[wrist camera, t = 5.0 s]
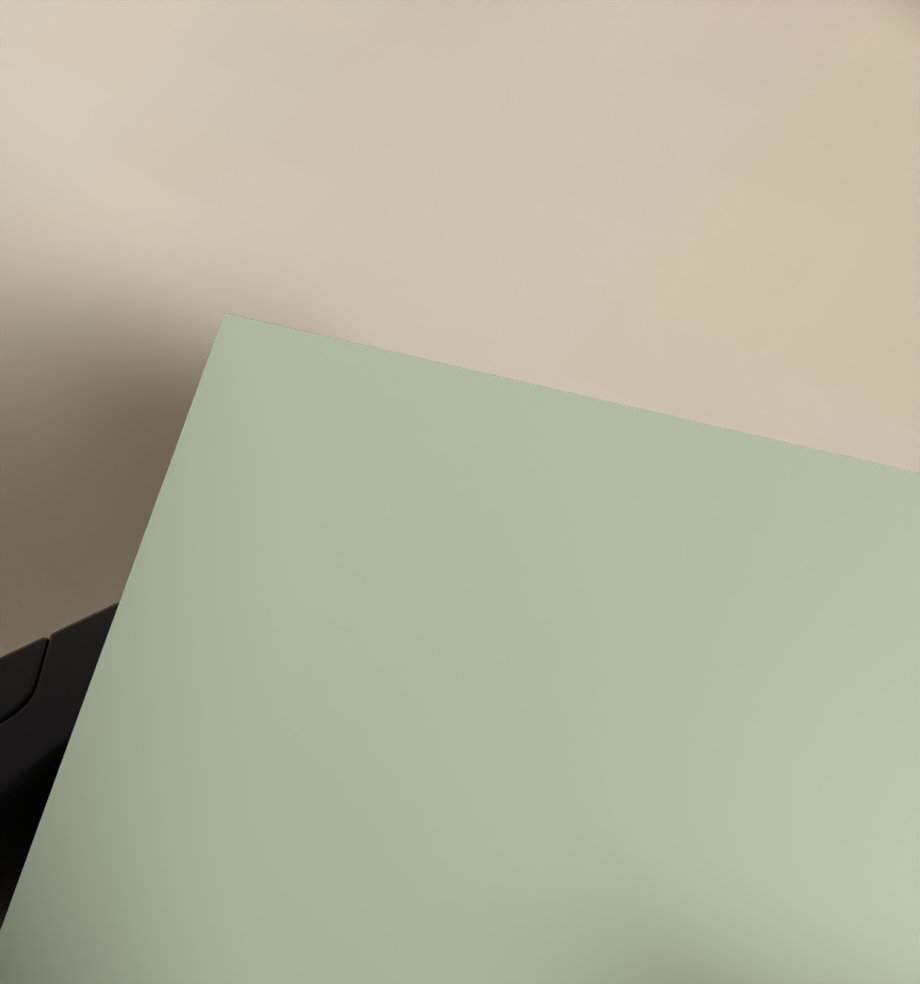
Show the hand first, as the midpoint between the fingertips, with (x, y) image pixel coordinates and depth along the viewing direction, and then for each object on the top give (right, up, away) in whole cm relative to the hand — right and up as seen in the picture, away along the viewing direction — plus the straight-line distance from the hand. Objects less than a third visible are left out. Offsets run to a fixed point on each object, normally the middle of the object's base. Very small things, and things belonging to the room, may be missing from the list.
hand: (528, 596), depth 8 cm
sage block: (0, -3, +6) cm, 7 cm away
